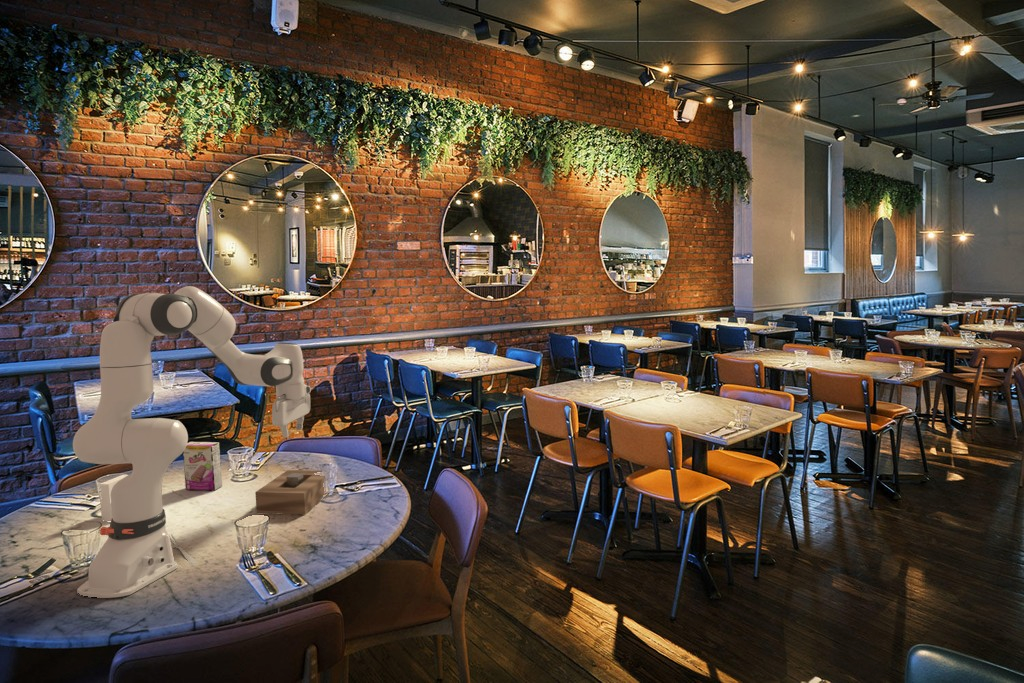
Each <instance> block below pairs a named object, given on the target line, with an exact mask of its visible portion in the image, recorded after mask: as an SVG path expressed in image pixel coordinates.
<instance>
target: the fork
mask: <svg viewBox="0 0 1024 683" xmlns="http://www.w3.org/2000/svg"><path fill="white" fill-rule="evenodd" d="M170 535H171V536H170ZM170 535H169V537H170V542H171V544H173V543H176V542H178V540H177V538H176V537H175V536H173V534H170ZM171 537H172V538H171ZM178 546H179V547H178ZM178 546H175V547H176V548H175V549H178V550H179V551H180V553H182V555H183V557H184V558H185V560H186V559H187V560H188V561H189V562H188V561H187V560H186V561H187V562H188V563H190V564H193V565H194V564H197V563H198V561H197V560H196V559H195V558H193V556H191V554H188V553H187V551H185V550H184V549H183V548H182V547H181V546H180V545H178ZM195 560H196V561H195Z"/></svg>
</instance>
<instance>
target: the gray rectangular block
mask: <svg viewBox="0 0 1024 683" xmlns="http://www.w3.org/2000/svg"><path fill="white" fill-rule="evenodd" d="M286 482H287V488H296V487H297V486H298V485H300V484H301V483H302V482H304V477H303V473H291V474H290V475H288V476H287V477H286Z"/></svg>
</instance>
